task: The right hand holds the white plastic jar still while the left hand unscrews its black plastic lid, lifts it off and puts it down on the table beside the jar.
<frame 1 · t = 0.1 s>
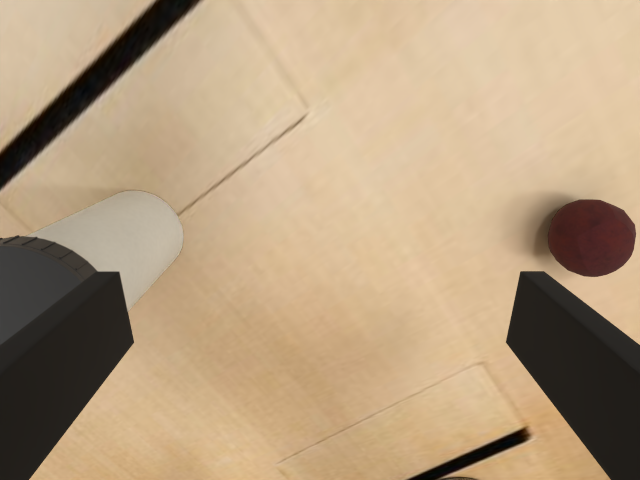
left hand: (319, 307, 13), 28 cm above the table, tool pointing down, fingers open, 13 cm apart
jar: (140, 231, 41), on the table
plum: (567, 225, 41), on the table
lid: (27, 315, 25), point 17 cm above the table, screwed on, not yet turned
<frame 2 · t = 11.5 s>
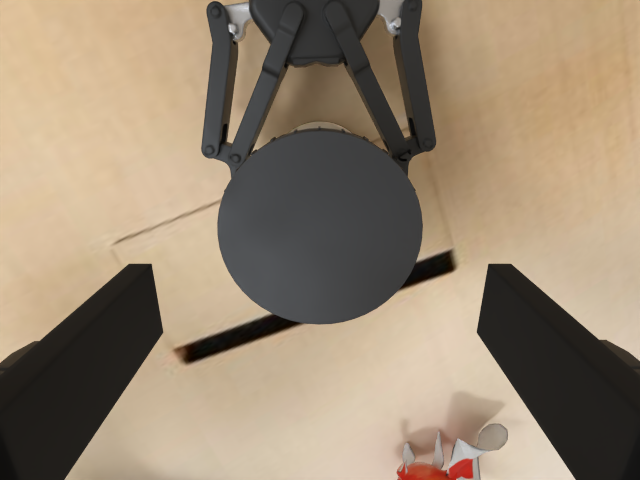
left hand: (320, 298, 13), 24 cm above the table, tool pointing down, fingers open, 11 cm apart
right hand: (321, 243, 31), fingers closed on jar, 9 cm apart
lid: (320, 234, 19), point 17 cm above the table, screwed on, not yet turned
fish: (438, 438, 47), on the table
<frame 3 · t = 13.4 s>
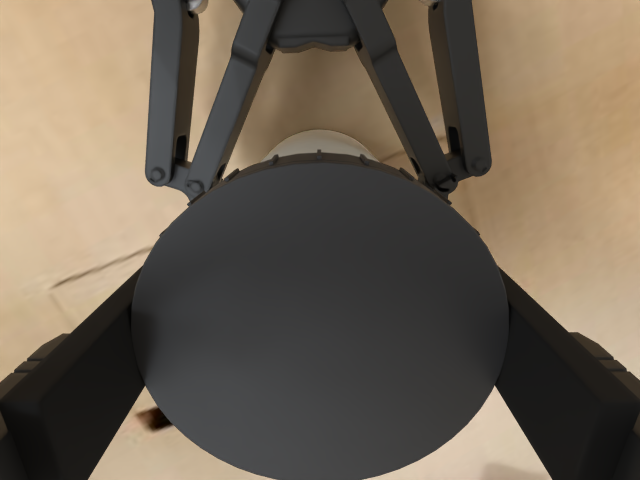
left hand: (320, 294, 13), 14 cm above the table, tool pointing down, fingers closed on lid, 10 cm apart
jar: (319, 197, 27), on the table, touching right hand
lid: (320, 343, 11), point 17 cm above the table, screwed on, not yet turned, touching left hand
when the left hand's fingers open (15 cm above the table, at t = 15.0 s): lid stays where it is, point 17 cm above the table.
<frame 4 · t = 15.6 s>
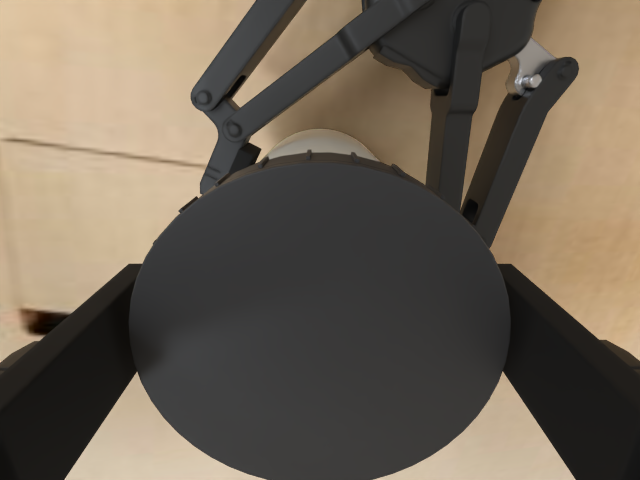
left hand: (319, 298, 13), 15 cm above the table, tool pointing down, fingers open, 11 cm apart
right hand: (284, 289, 22), fingers closed on jar, 9 cm apart
jar: (319, 196, 27), on the table, touching right hand
lid: (319, 345, 11), point 17 cm above the table, turned 109° so far, risen 0.4 cm, still on its thread
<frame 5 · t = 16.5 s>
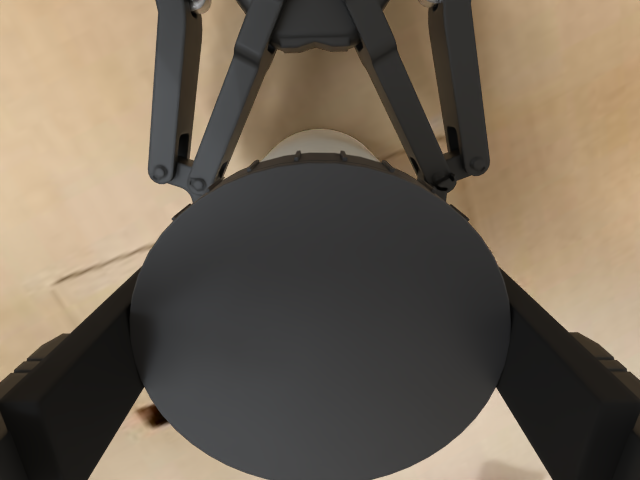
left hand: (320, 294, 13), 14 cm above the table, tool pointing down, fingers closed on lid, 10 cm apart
jar: (320, 196, 27), on the table, touching right hand
lid: (320, 344, 11), point 17 cm above the table, turned 109° so far, risen 0.4 cm, still on its thread, touching left hand
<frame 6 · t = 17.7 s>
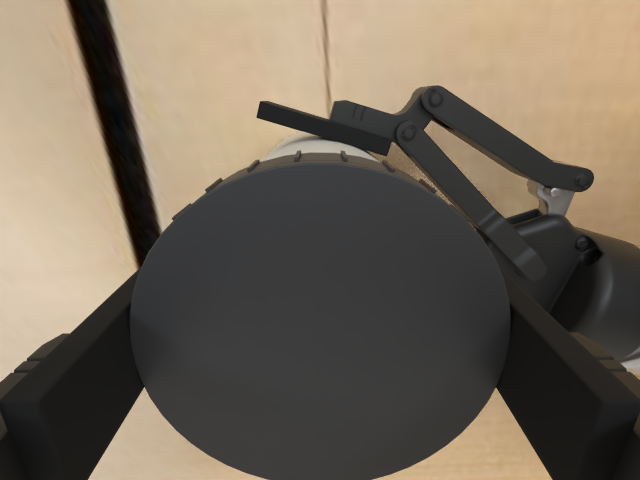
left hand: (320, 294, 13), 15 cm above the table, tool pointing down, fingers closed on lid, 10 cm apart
jar: (320, 195, 27), on the table, touching right hand
lid: (320, 344, 11), point 18 cm above the table, off its thread, touching left hand
when the left hand's fingers open (0 cm above the table, at t = 23.5 s): lid drops 2 cm, point 1 cm above the table.
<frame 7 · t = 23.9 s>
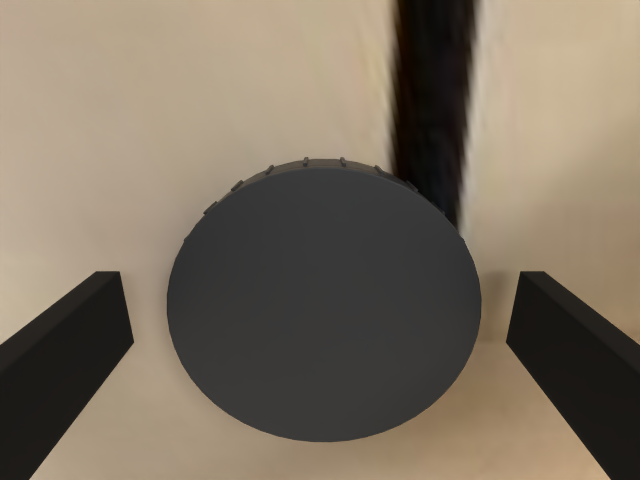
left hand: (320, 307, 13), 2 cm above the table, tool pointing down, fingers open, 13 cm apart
lid: (323, 318, 13), point 1 cm above the table, off its thread
when the right hand's fingers open (7 cm above the table, at t = 24.5 s): jar stays where it is, on the table.
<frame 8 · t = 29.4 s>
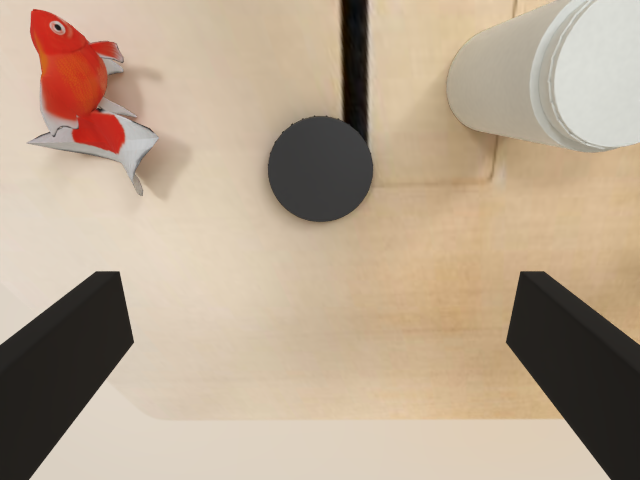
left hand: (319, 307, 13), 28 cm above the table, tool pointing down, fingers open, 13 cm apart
jar: (495, 81, 36), on the table
lid: (320, 171, 38), point 1 cm above the table, off its thread
fish: (122, 113, 37), on the table
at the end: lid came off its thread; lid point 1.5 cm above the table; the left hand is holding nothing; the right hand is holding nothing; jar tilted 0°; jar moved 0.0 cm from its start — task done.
